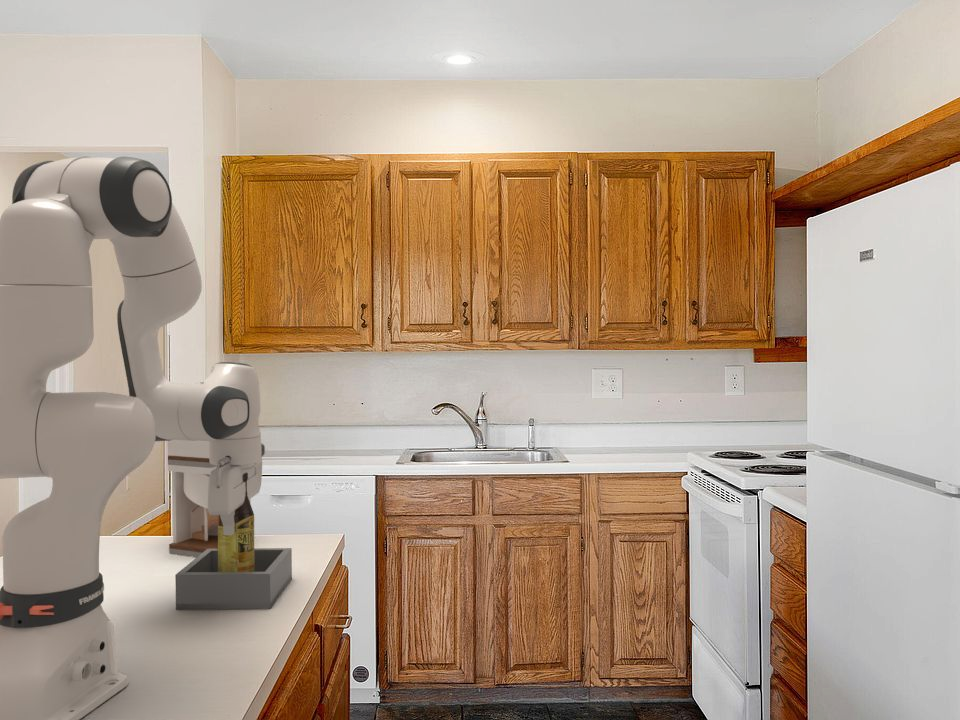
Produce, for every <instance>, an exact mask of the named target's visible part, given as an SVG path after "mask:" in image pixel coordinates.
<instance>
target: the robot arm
mask: <svg viewBox="0 0 960 720" xmlns="http://www.w3.org/2000/svg"><path fill="white" fill-rule="evenodd" d="M11 197H12V199H11V200H12V201H11V202H12V203H11V204H10V205H8V207H6V209H4V211H3V212H2V213H1V216H0V479H1V480H2V479H20V478H21V479H23V478H25V479H26V478H43V477H44V478H45V477H46V478H51V479H52V487H51V490H50V491H51V492H50V494H49V497H46V498H45V499H41V501H38V502H36V503H35V504H32V505H30V506H29V507H27V508H25V509H23V510H22V511H20V512H18V513H17V514H15V515H14V516H13V517H12V518H11V519H10V520H9V521H8V523H7V524H6V526H5V528H4V530H3V533H2V537H1V540H2V581H3V582H2V583H3V585H2V586H1V588H0V720H81V719H82V718H83V717H85V716H86V715H88V714H89V713H90V712H92V711H94V710H95V709H96V708H97V707H99V706H101V705H102V704H103V703H105V702H106V701H107V700H109V699H110V698H111V697H114V695H116V694H117V693H118V692H120V691H121V690H124V689H125V688H126V687H127V686H128V684H129V682H128V677H127V675H126V674H124V673H122V672H120V671H119V667H118V666H119V665H118V656H117V647H116V637H115V629H114V623H113V622H112V620H111V618H109V617H108V616H107V614H106V612H105V610H104V609H103V606H102V603H103V602H104V592H105V583H104V580H103V579H104V578H103V574H102V573H101V572H100V543H101V542H100V538H101V527H102V519H103V516H104V512H105V510H106V506H107V504H108V501H109V499H110V498H111V496H112V495H113V493H114V492H115V490H116V488H117V487H118V486H119V485H120V483H122V481H123V480H124V479H126V477H128V476H129V475H130V474H131V473H132V472H133V471H134V470H136V469H137V468H139V467H140V466H141V465H142V464H143V463H144V462H145V461H146V460H147V459H148V458H149V456H150V455H151V452H152V451H153V448H154V446H155V443H156V442H167V441H170V440H188V441H196V440H200V441H209V462H210V464H213V465H217V467H216V468H215V469H214V470H212V471H211V473H210V477H209V485H208V511H209V513H210V515H220V518H221V521H222V524H223V533H224V535H233V534H234V533H235V532H236V523H235V522H234V515H235V510H236V509H237V508H239V507H240V506H241V505H243V503H244V500H245V492H246V487H245V482H243V474H244V473H248V479H247V493H248V494H247V496H248V499H249V501H250V504H251V499H253V498H254V497H255V496H256V495H258V494H259V493H260V490H261V487H262V478H263V477H262V476H263V458H262V457H264V456H265V454H266V446H265V444H264V443H263V442H262V440H261V437H262V436H261V433H262V432H261V430H260V426H259V419H260V415H261V392H260V383H259V377H258V373H257V371H256V369H255V367H253V366H252V365H249V364H247V363H242V362H233V361H222V362H221V361H220V362H217V363H214V364H213V365H212V366H211V367H212V368H211V371H210V374H209V376H207V377H206V378H205V379H203V380H201V381H199V383H198V382H197V383H174V382H172V381H170V380H168V378H166V377H165V375H164V373H163V367H162V360H161V354H160V347H159V341H158V340H159V339H158V336H159V332H160V329H161V328H163V327H164V326H166V325H168V324H171V323H173V322H174V321H177V320H178V319H180V318H181V317H183V316H184V315H186V314H188V312H189V311H191V310H192V308H194V306H195V305H196V304H197V302H198V300H199V299H200V296H201V293H202V290H203V289H202V288H203V287H202V286H203V285H202V277H201V271H200V268H199V265H198V264H199V263H198V260H197V258H196V254H195V250H194V248H193V246H192V243H191V240H190V237H189V235H188V232H187V229H186V227H185V225H184V222H183V220H182V219H181V216H180V214H179V213H178V210H177V208H176V206H175V205H174V203H173V198H172V192H171V188H170V185H169V182H168V180H167V179H166V178H165V176H164V175H163V173H162V172H161V171H160V170H159V168H158V167H157V166H156V165H154V164H153V163H152V162H150V161H148V160H145V159H142V158H136V157H131V156H119V157H115V158H114V157H98V156H97V157H96V156H95V157H92V156H77V157H69V158H62V159H59V160H45V161H41V162H37V163H34V164H32V165H30V166H28V167H26V168H25V169H23V171H21V173H20V174H19V175H18V177H17V178H16V180H15V181H14V186H13V190H12V196H11ZM105 239H108V240H109V241H110V242H111V244H112V245H113V249H114V250H113V251H114V254H115V257H116V262H117V265H118V269H119V272H120V274H121V279H122V282H123V288H124V289H123V290H124V294H123V295H124V298H123V300H121V302H120V303H119V305H118V308H117V314H116V316H117V317H116V319H117V332H118V337H119V342H120V343H119V344H120V348H121V354H122V359H123V366H124V372H125V377H126V382H127V386H128V393H129V394H128V395H126V394H121V393H113V392H106V391H89V392H88V391H85V392H84V391H83V392H82V391H79V392H77V391H76V392H51V391H47V382H48V378H49V376H50V374H51V373H52V371H54V370H57V369H59V368H61V367H63V366H65V365H68V364H70V363H72V362H73V361H75V360H77V359H78V358H81V357H82V356H83V355H84V354H86V353H87V352H88V350H89V349H90V348H91V346H92V343H93V341H94V336H95V333H94V307H93V303H94V301H93V298H94V297H93V273H92V264H91V258H90V257H91V255H90V248H91V245H92V244H93V241H94V240H105Z"/></svg>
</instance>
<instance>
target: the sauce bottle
mask: <svg viewBox="0 0 960 720" xmlns="http://www.w3.org/2000/svg"><path fill="white" fill-rule="evenodd" d="M247 479H248V473H244V474H243V482H245V487H246V492H245V500H244V503H243V505H241V506H240V507H239V508H237V509H236V510H235V515H234V522H235V523H236V532H235V533H234V534H233V535H224V533H223V524H222V521H221V518H220V515H219V524H218V572H254V548H255V513H254V510H253V507H252V505H251V503H250V502H251V500H250V501H249V499H248V496H247V494H248V493H247Z"/></svg>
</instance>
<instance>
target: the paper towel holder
mask: <svg viewBox="0 0 960 720" xmlns="http://www.w3.org/2000/svg"><path fill="white" fill-rule="evenodd" d="M166 443H167V472H171V473H172V474H171V476H172V477H171V478H172V479H171V481H172V482H171V488H172V492H171V493H172V543H169V545H168V546H169V547H168V554H169V553H170V555H175V554H177V556H182V555H186V556H185V557H190V556H193V557H192V558H197V557H198V556H199V555H200V554H202V553H203V552H204V551H205V550H206V549H218V524H219V515H210V513H209V511H208V485H209V477H210V473H211V471H212V470H214V469H215V468H216V467H217V465H213V464H210V462H209V441H200V440H196V441H188V440H170V441H166Z"/></svg>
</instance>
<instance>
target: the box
mask: <svg viewBox="0 0 960 720" xmlns="http://www.w3.org/2000/svg"><path fill="white" fill-rule="evenodd" d="M292 549H293V548H292V547H281V548H280V547H275V548H273V547H270V548H268V547H266V548H265V547H263V548H261V547H260V548H255V547H254V572H218V549H206V550H205V551H204V552H203V553H202V554H200V555H199V556H198V557H194V559H193V560H192V561H190V562H189V563H188V564H187V565H185V566H184V567H182V568H181V570H179V571H178V572H177V573H176V574H175V576H174V577H175V579H174V580H175V610H177V611H178V610H179V611H185V610H187V611H188V610H195V611H196V610H197V611H198V610H199V611H200V610H269V609H270V610H271V609H272V608H273V606H274V605H275V603H276V602H277V600H279V598H280V596H281V595H282V594H283V593H284V591H285V589H286V588H287V587H288V586H289V584H290V582H291V581H292V580H293V562H292V561H293V554H292V553H293V551H292Z"/></svg>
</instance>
